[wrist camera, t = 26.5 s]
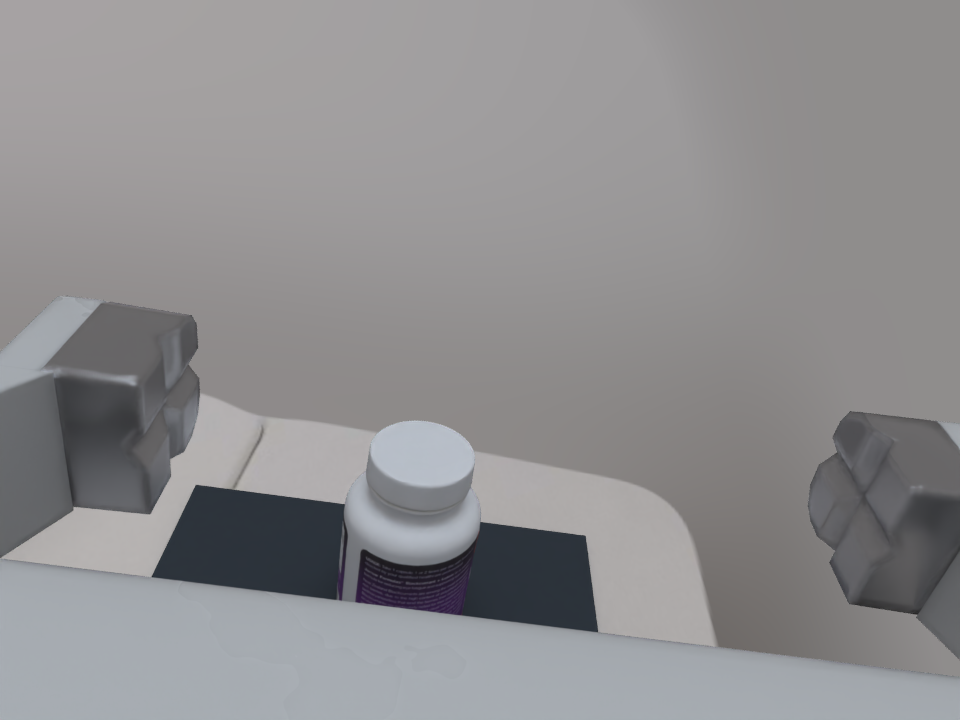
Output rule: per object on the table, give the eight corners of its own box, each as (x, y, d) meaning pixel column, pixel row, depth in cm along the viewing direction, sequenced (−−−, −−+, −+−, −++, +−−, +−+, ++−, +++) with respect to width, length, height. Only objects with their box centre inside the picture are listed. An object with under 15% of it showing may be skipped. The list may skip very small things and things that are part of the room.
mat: (584, 538, 42) (585, 535, 42) (619, 807, 30) (620, 804, 30) (196, 487, 41) (195, 484, 40) (71, 747, 29) (70, 744, 29)
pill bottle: (482, 639, 35) (523, 468, 30) (380, 702, 32) (407, 521, 27) (409, 561, 38) (435, 394, 33) (309, 610, 35) (321, 433, 30)
